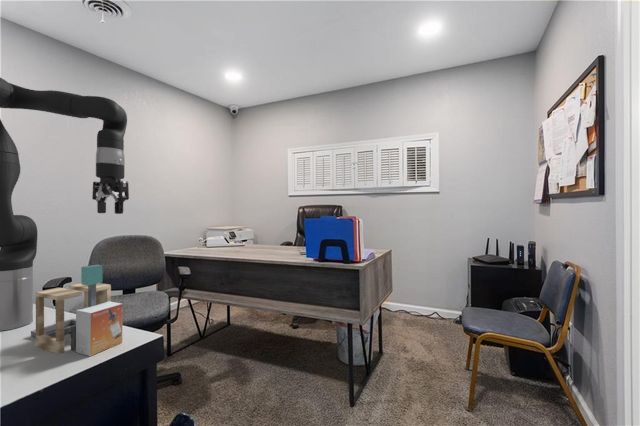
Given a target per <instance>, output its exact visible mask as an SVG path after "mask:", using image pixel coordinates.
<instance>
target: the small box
mask: <svg viewBox="0 0 640 426" xmlns="http://www.w3.org/2000/svg"><path fill="white" fill-rule="evenodd" d="M123 312H124V311H123V303H121V302H114V301H111V302H110V301H108V302H105V303H102V304H99V305H95V306H92V307H88V308H85V309H84V308H82V309H81V308H80V309H77V310H76V311H75V319H76V350H75V353H76V354H80V355H85V356H88V357H91V356H94V355H96V354H98V353H100V352H103V351H105V350H107V349H111V348H113V347H116V346H118V345H121V344H122V343H123Z"/></svg>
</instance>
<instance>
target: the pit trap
mask: <svg viewBox="0 0 640 426" xmlns="http://www.w3.org/2000/svg"><path fill="white" fill-rule="evenodd" d="M73 325H76V318H71V319H70V318H69V319H65V320H64V336H66V335H69V334H71V326H73ZM44 335H48V336H51V337H55V338H56V323H53V324H50V325H46V326H44ZM30 337H31V338H34V339H36V329H33V330H31V331H30Z"/></svg>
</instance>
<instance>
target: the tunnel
mask: <svg viewBox="0 0 640 426" xmlns="http://www.w3.org/2000/svg"><path fill="white" fill-rule="evenodd" d="M83 292H84V293H83ZM82 293H83V294H84V296H83V298H84V300H83V301H84V303H83V305H84V306H83V309H85V308H88V286H87V285H81V282H77V283H73V284H70V285H68V288H64V287H55V288H49V289H45V290H44V289H43V290H39V291H35V330H36V338H35V348H39V349H42V350H45V351H48V352H51V353H54V354H58V355H60V354H63V353H65V335H64V321H65V300H68V299H72V298H76V297H77V298H78V297H80V296H82V295H83V294H82ZM45 299H49V300H53V301H55V324H56V338H55V337H51V336H48V335H44V327H45ZM108 301H110V302H112V286H111V284H108V283H103V282H102V283H97V284H96V305H99V304H102V303H105V302H108Z"/></svg>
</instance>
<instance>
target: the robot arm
mask: <svg viewBox="0 0 640 426" xmlns="http://www.w3.org/2000/svg"><path fill="white" fill-rule="evenodd" d="M0 109H17V110H29V111H40V112H45V113H51V114H56V115H61V116H67V117H71V118H78V119H89V118H93V119H97V120H101V121H102V129H100V130H98V131H97V134H96V152H95V177H96V178H98V179H99V181H93V182H92V195H91V196H92V201H93V200H95V202H96V203H97V204H96V206H97V207H96V209H97V210H96V211H97V213H98V214H105V213H107V202H106V201H107V200H108V198H110V197H112V198H113V199H114V201H115V202H114V214H116V215H121V214H122V215H123V213H124V202H126V201H128V200H129V199H130V194H129V193H130V191H129V189H130V188H129V181H126V180H124V179H125V153H124V149H125V145H124V142H125V140H124V137H125V134H126V129H127V125H128V115H127V113H126V110H125V108H123V107H122V106H121V105H119V104H118V103H117V102H116V101H115V100H113V99H111V98H109V97H108V98H107V97H105V96H104V97H103V96H97V95H81V94H77V93H70V92H67V91H60V90H53V89H52V90H50V89H49V90H35V89H30V88H26V87H24V86H23V87H22V86H19V85H17V84H13V83H11V82H8V81H7V80H6V79H3V78H2V77H0ZM19 155H20V154H19V151H18V148H17V146H16V143H15V142H14V140H13V138H12V136H11V135H10V133H9V132H8V130H7V129H6V127H5V126H4V123H3V121H2V120H1V118H0V332H1V331H7V330H8V331H9V330H13V329H17V328H21V327H25V326H27V325H29V324H31V323H33V322H34V267H33V266H34V260H35V258H36V257H37V252H38V250H37V249H38V248H37V247H38V226H37V224H36V222H35V221H34V219H33V218H32V217H30V216H27V215H23V214H14V210H13V204H12V195H13V191H14V189H15V188H16V185H17V182H19V181H18V180H19V178H20V175H21V164H20V163H21V162H20V157H19Z"/></svg>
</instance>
